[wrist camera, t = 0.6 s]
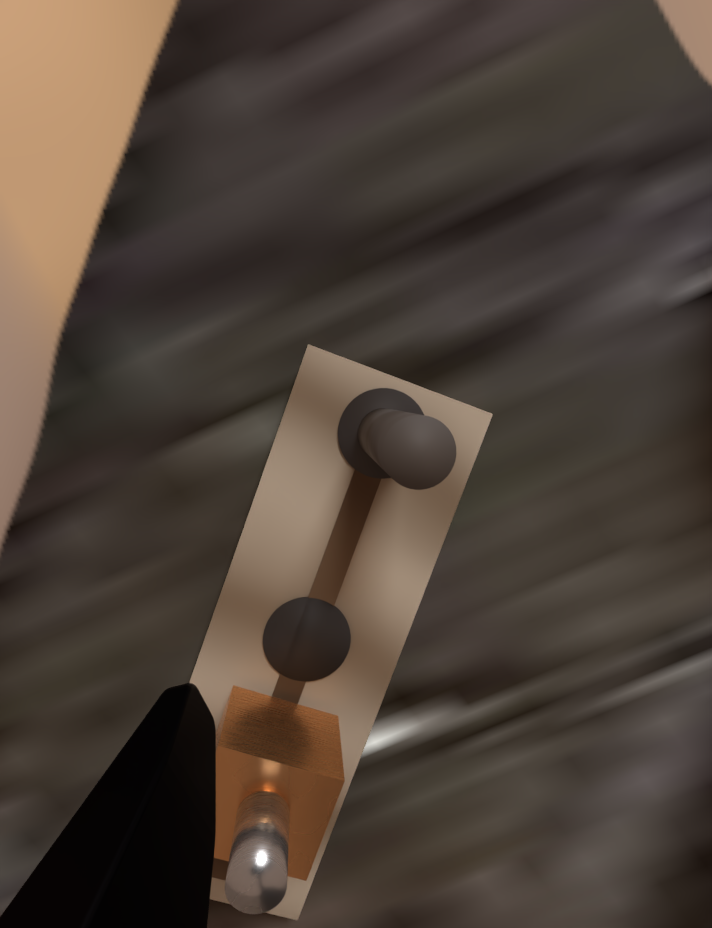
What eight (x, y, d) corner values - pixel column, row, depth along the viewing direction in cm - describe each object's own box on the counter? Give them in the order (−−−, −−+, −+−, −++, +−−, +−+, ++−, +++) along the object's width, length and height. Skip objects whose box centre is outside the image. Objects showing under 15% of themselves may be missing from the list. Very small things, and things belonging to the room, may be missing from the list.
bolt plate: (298, 887, 23) (294, 1137, 16) (132, 845, 23) (39, 1089, 15) (480, 412, 22) (580, 423, 14) (308, 347, 21) (309, 319, 13)
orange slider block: (306, 800, 21) (306, 961, 15) (201, 772, 20) (159, 927, 14) (337, 715, 21) (351, 845, 15) (233, 685, 20) (202, 807, 14)
